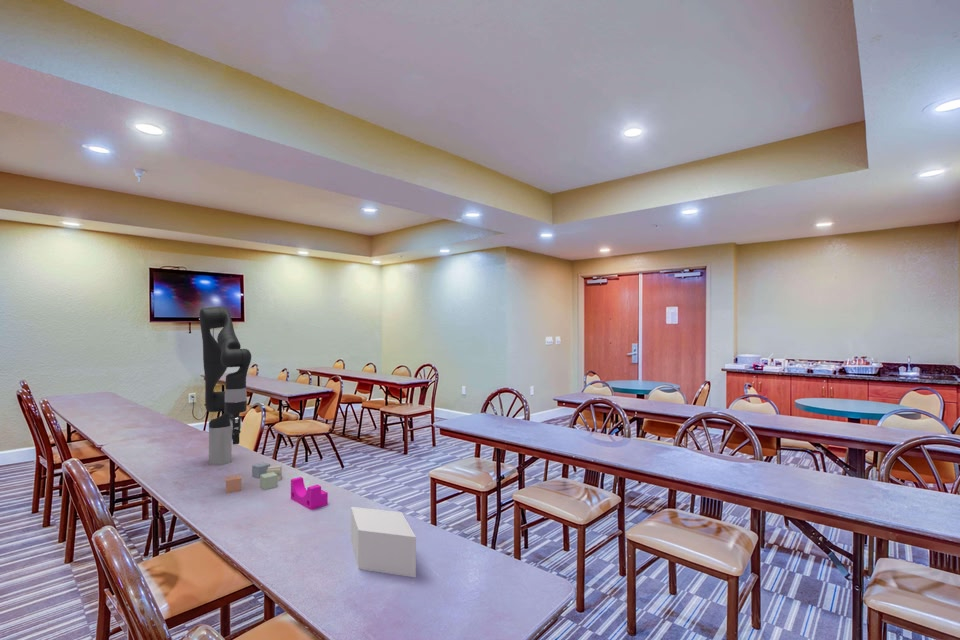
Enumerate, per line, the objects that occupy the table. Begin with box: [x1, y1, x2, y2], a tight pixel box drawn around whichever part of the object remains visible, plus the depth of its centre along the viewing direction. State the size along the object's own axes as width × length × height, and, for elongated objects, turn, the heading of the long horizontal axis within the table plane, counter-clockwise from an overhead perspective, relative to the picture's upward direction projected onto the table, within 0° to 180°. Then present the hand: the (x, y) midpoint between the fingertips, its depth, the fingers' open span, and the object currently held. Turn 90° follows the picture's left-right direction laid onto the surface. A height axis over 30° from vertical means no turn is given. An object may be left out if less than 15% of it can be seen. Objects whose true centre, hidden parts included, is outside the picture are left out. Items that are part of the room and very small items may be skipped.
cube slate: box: [251, 461, 271, 479], centre depth 186 cm, size 5×5×5 cm
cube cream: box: [267, 465, 283, 482], centre depth 182 cm, size 5×5×5 cm
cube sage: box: [259, 472, 279, 491], centre depth 173 cm, size 5×5×5 cm
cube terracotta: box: [225, 474, 242, 494], centre depth 170 cm, size 5×5×5 cm
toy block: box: [290, 476, 329, 511], centre depth 159 cm, size 15×6×8 cm, turn 49°
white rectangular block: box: [350, 506, 417, 578], centre depth 121 cm, size 14×29×10 cm, turn 50°
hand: (235, 441), depth 171 cm, fingers open, 8 cm apart
